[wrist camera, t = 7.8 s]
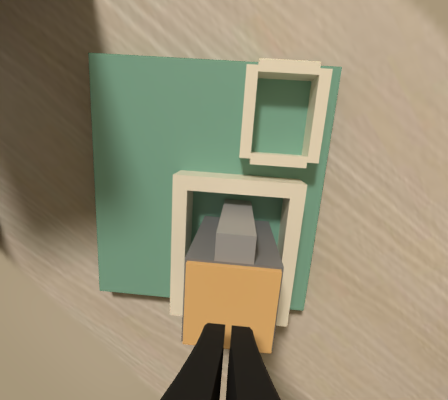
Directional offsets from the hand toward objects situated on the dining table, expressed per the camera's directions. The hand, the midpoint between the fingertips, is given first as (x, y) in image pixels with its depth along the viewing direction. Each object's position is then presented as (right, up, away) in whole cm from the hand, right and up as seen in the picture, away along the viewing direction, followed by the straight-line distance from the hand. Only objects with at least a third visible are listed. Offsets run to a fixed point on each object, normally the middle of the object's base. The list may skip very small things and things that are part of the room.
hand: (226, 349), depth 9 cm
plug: (0, +2, +8) cm, 8 cm away
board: (-1, +6, +8) cm, 10 cm away
